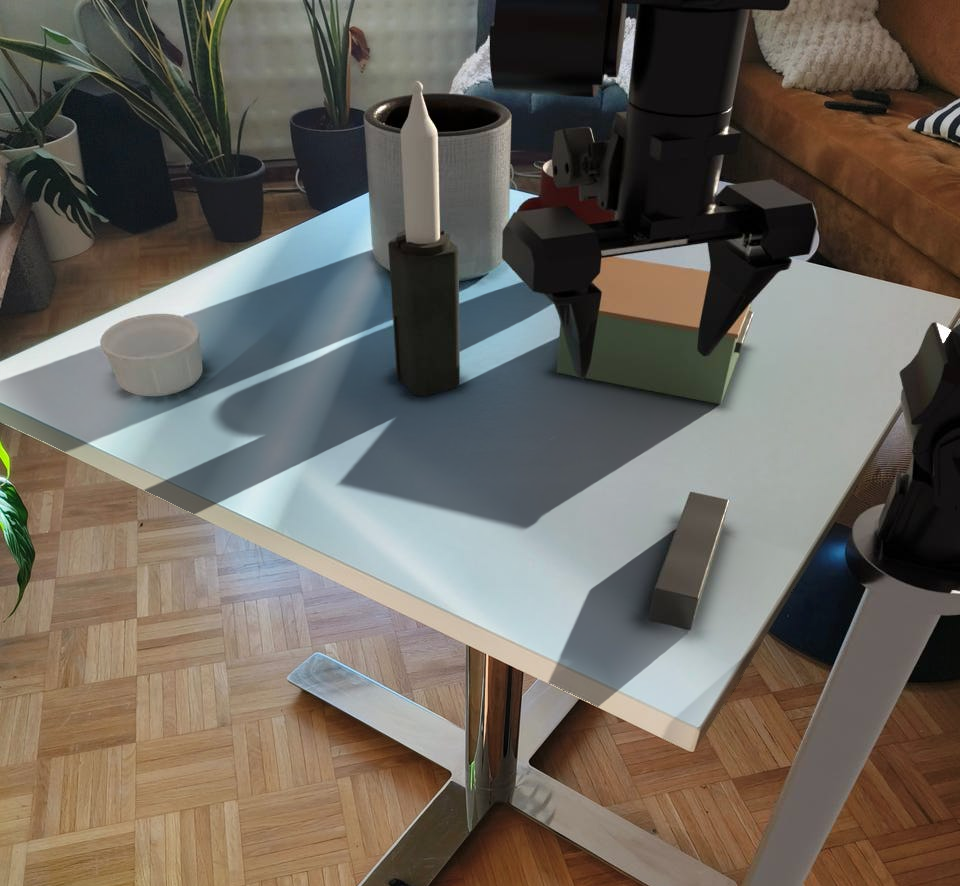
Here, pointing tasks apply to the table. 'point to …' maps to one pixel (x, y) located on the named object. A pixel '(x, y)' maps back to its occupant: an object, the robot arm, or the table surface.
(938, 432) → the robot arm
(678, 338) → the bread box
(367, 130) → the planter
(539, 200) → the mug
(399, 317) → the candle
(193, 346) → the ramekin
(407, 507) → the table surface
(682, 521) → the stick
